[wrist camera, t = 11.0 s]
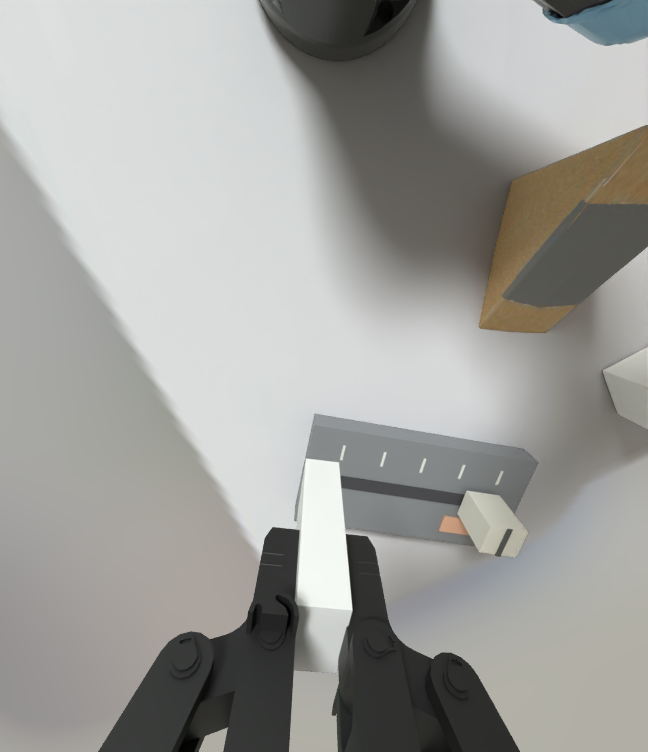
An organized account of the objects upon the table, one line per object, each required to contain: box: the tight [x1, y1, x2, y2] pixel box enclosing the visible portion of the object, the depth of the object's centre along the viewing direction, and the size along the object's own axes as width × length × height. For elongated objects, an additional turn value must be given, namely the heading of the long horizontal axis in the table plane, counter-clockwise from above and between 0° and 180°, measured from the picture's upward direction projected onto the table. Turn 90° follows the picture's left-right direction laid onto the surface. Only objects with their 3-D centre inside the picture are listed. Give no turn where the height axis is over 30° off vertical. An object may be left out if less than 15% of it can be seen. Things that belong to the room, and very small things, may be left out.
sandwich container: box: [479, 125, 648, 333], centre depth 29 cm, size 9×15×15 cm, turn 176°
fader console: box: [294, 414, 538, 546], centre depth 43 cm, size 14×28×3 cm, turn 79°
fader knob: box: [457, 491, 528, 557], centre depth 39 cm, size 4×4×6 cm
